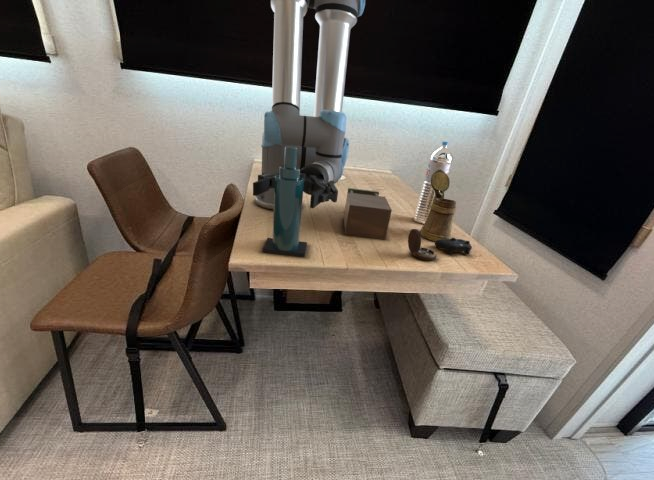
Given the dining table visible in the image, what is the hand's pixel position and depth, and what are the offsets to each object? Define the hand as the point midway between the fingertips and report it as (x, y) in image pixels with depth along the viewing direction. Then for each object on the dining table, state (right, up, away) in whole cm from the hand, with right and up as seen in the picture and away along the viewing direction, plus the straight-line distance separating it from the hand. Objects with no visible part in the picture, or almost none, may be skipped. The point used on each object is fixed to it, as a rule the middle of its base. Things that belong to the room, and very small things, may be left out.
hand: (282, 195), depth 70 cm
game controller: (+46, -9, +22) cm, 51 cm away
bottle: (0, -9, +9) cm, 13 cm away
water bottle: (+44, +4, +42) cm, 61 cm away
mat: (0, -10, +10) cm, 14 cm away
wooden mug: (+43, -2, +32) cm, 54 cm away
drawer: (+22, +7, +39) cm, 45 cm away
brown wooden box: (+21, -1, +29) cm, 36 cm away
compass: (+35, -11, +16) cm, 40 cm away
